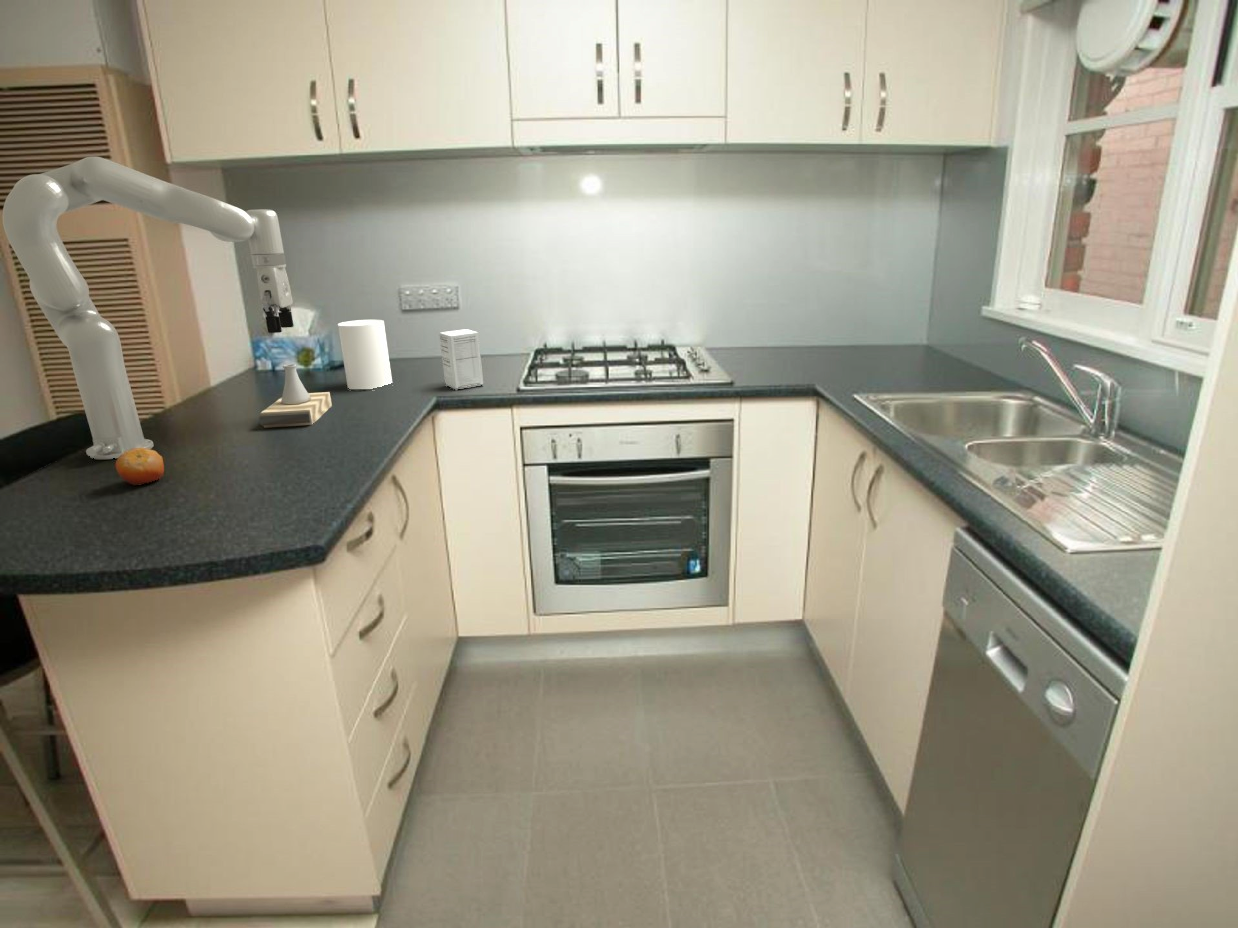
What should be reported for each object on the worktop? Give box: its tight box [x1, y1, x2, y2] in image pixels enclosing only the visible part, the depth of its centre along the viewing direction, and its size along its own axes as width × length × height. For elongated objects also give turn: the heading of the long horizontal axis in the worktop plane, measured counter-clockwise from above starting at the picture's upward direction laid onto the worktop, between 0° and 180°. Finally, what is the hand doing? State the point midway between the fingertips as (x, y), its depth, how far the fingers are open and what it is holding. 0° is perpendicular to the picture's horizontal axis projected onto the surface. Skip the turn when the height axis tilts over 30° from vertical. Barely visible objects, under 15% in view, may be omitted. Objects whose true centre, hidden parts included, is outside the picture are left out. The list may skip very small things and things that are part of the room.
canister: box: [337, 319, 393, 390], centre depth 222 cm, size 14×14×20 cm
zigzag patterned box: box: [258, 391, 333, 429], centre depth 191 cm, size 22×12×4 cm, turn 7°
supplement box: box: [438, 328, 484, 388], centre depth 218 cm, size 10×9×17 cm
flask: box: [281, 363, 311, 404], centre depth 189 cm, size 7×7×10 cm
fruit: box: [115, 447, 165, 486], centre depth 144 cm, size 8×8×8 cm
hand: (281, 329), depth 184 cm, fingers open, 9 cm apart
